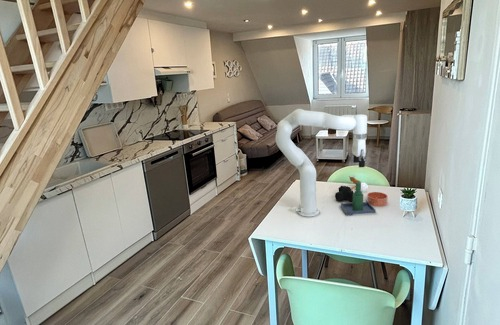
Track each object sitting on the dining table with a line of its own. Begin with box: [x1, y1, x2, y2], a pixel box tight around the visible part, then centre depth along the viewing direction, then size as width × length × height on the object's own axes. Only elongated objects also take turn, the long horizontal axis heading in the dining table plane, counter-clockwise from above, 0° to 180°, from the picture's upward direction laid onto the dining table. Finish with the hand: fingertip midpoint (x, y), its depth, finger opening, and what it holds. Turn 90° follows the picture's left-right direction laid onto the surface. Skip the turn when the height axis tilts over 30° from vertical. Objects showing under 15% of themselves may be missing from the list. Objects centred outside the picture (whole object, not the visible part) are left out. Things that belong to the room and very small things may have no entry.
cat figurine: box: [348, 174, 369, 193], centre depth 222 cm, size 13×12×18 cm
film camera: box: [334, 185, 355, 203], centre depth 205 cm, size 15×10×9 cm, turn 16°
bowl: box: [366, 191, 389, 207], centre depth 197 cm, size 12×12×6 cm
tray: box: [340, 201, 376, 216], centre depth 190 cm, size 17×12×2 cm
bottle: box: [352, 181, 364, 211], centre depth 188 cm, size 6×6×18 cm
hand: (358, 164), depth 182 cm, fingers open, 9 cm apart
